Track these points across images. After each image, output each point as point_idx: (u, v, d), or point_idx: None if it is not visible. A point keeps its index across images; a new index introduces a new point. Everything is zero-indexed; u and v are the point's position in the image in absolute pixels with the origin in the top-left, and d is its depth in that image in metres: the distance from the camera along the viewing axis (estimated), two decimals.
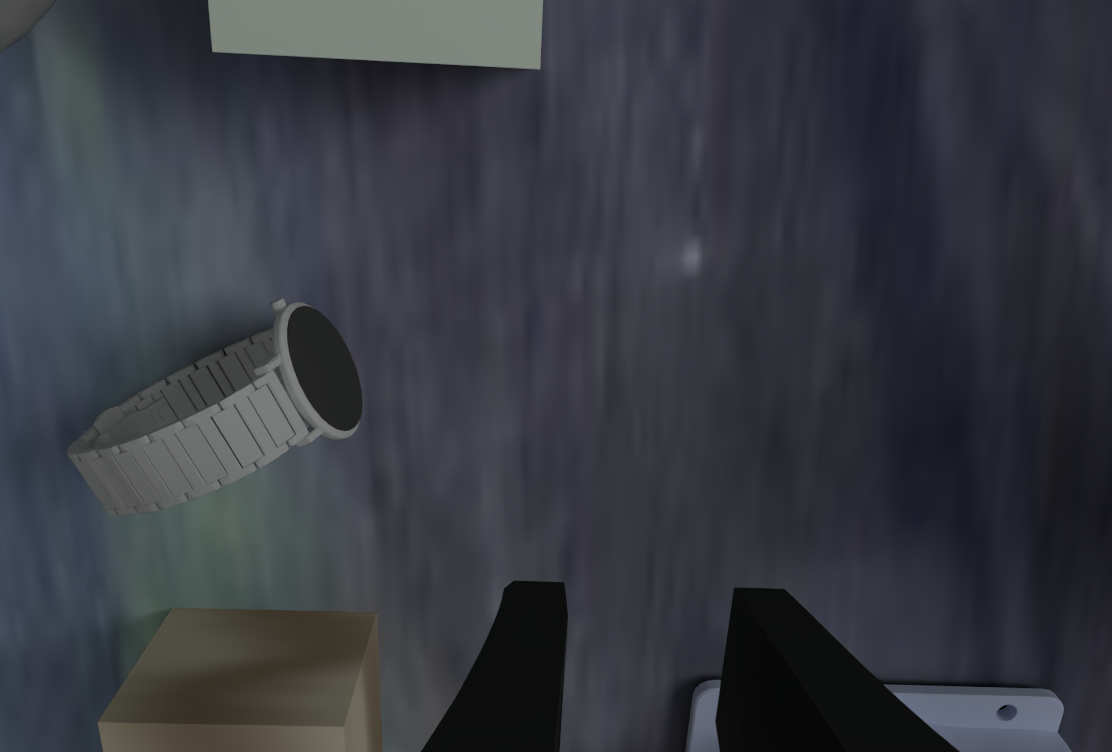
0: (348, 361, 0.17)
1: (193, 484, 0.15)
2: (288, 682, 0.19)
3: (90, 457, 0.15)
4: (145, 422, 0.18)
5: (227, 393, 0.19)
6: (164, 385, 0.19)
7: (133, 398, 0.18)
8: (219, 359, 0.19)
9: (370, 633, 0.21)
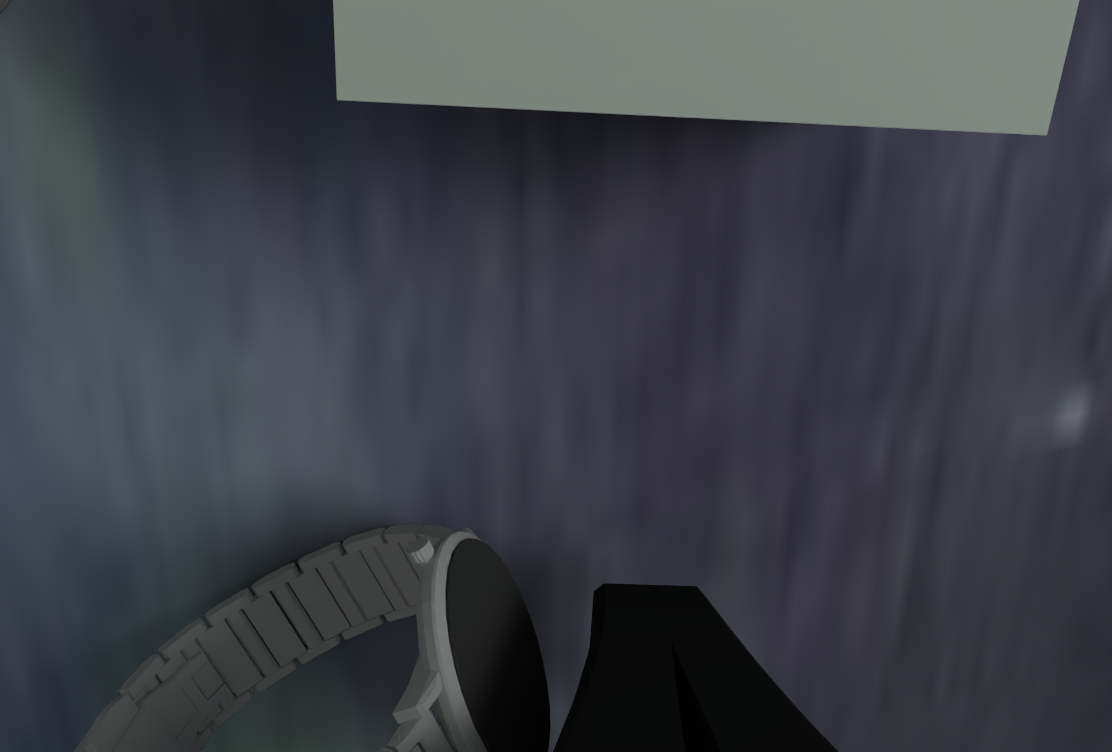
0: (522, 614, 0.10)
1: None
2: None
3: None
4: (172, 700, 0.11)
5: (303, 631, 0.12)
6: (203, 630, 0.11)
7: (152, 664, 0.11)
8: (291, 580, 0.12)
9: None
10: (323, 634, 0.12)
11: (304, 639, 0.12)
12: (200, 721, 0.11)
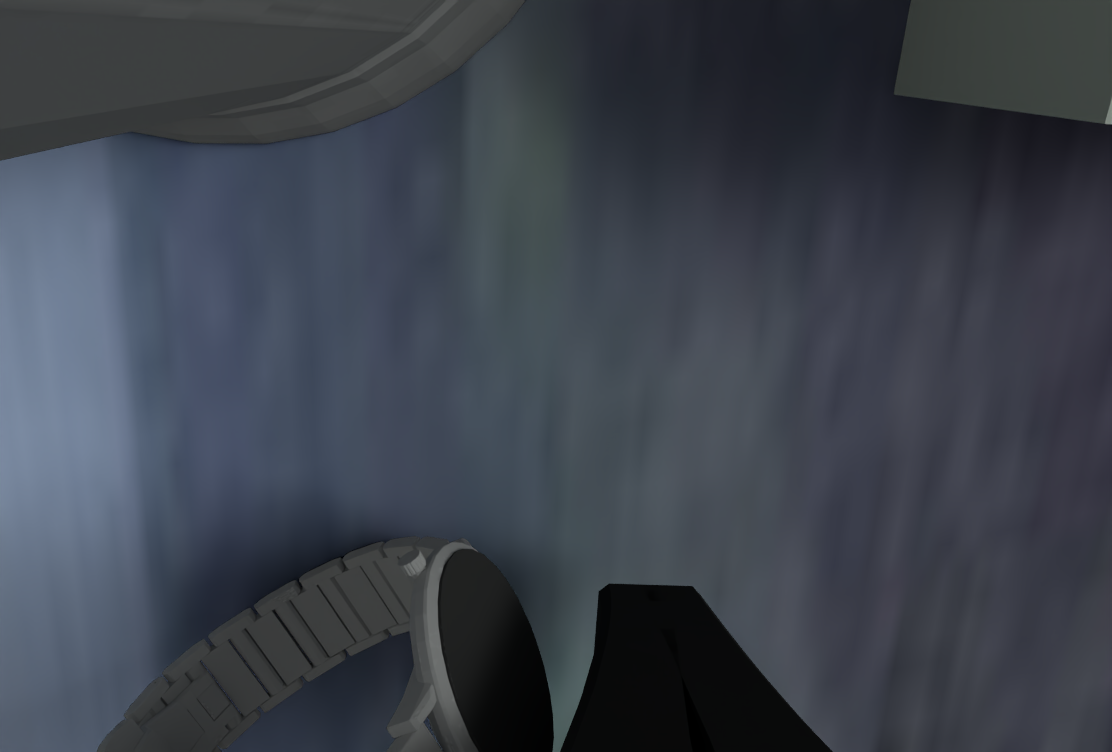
0: (521, 623, 0.10)
1: None
2: None
3: None
4: (178, 722, 0.11)
5: (307, 648, 0.12)
6: (207, 651, 0.11)
7: (157, 687, 0.11)
8: (293, 599, 0.12)
9: None
10: (328, 651, 0.12)
11: (309, 656, 0.12)
12: (207, 743, 0.11)
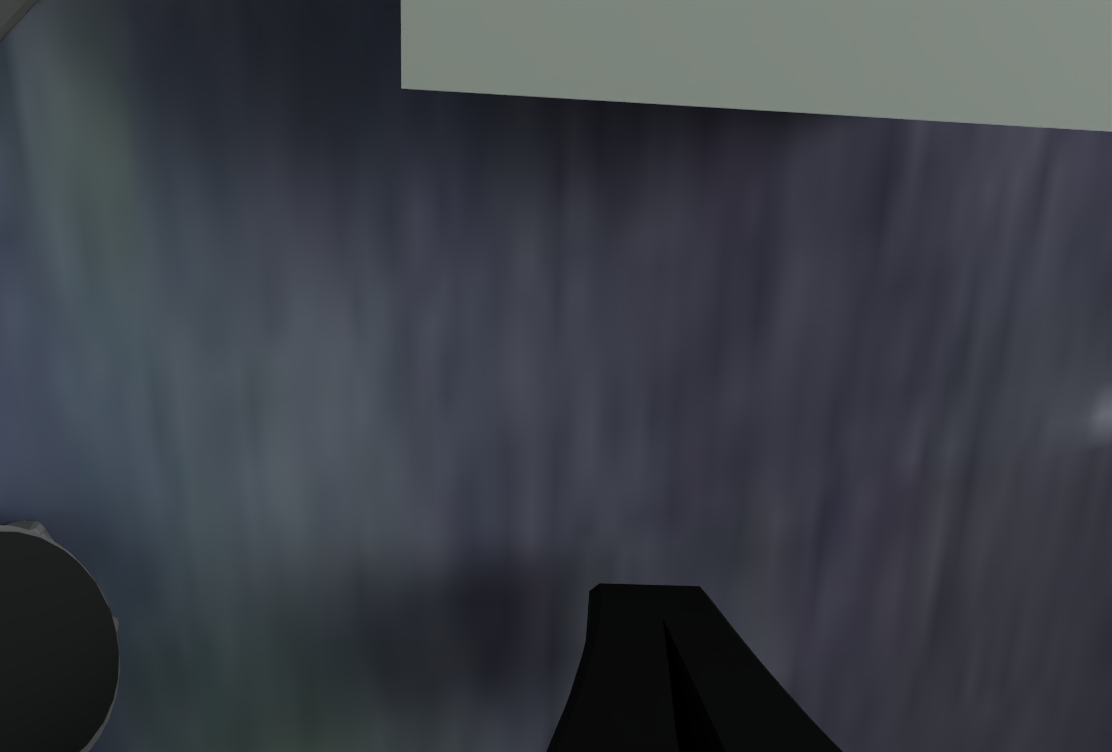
0: (91, 607, 0.10)
1: None
2: None
3: None
4: None
5: None
6: None
7: None
8: None
9: None
10: None
11: None
12: None
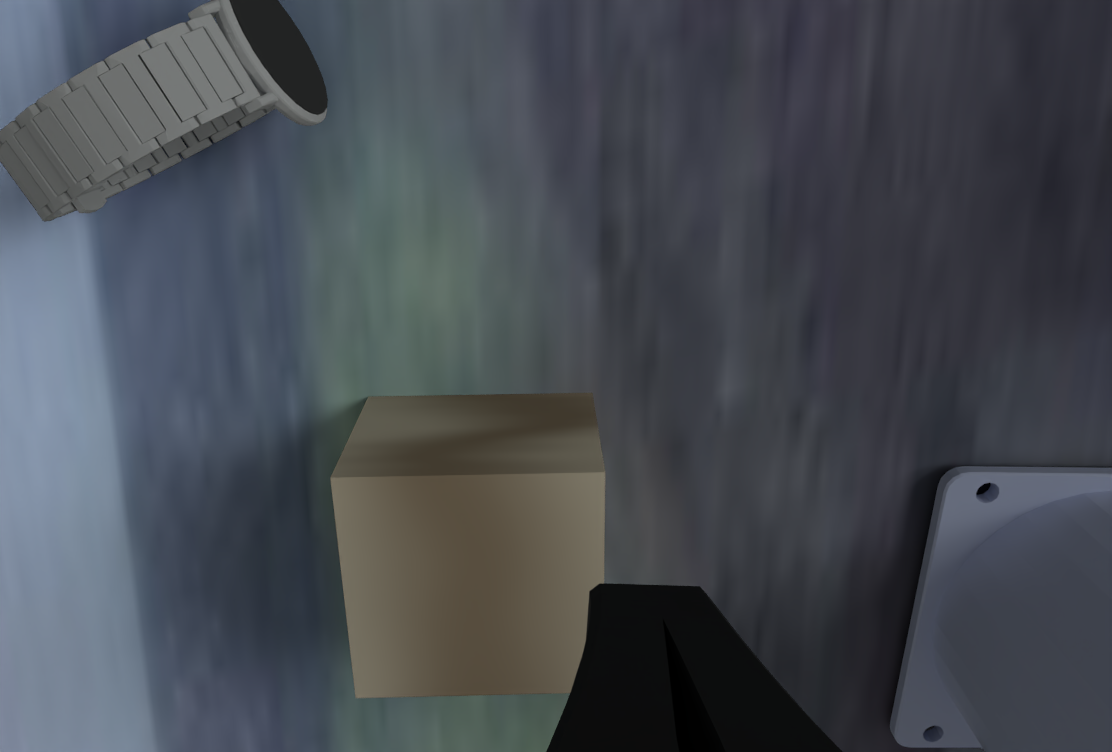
0: (308, 54, 0.15)
1: (126, 144, 0.13)
2: (525, 443, 0.17)
3: (10, 132, 0.13)
4: None
5: None
6: None
7: None
8: None
9: (593, 407, 0.19)
10: (197, 136, 0.17)
11: (184, 139, 0.17)
12: None
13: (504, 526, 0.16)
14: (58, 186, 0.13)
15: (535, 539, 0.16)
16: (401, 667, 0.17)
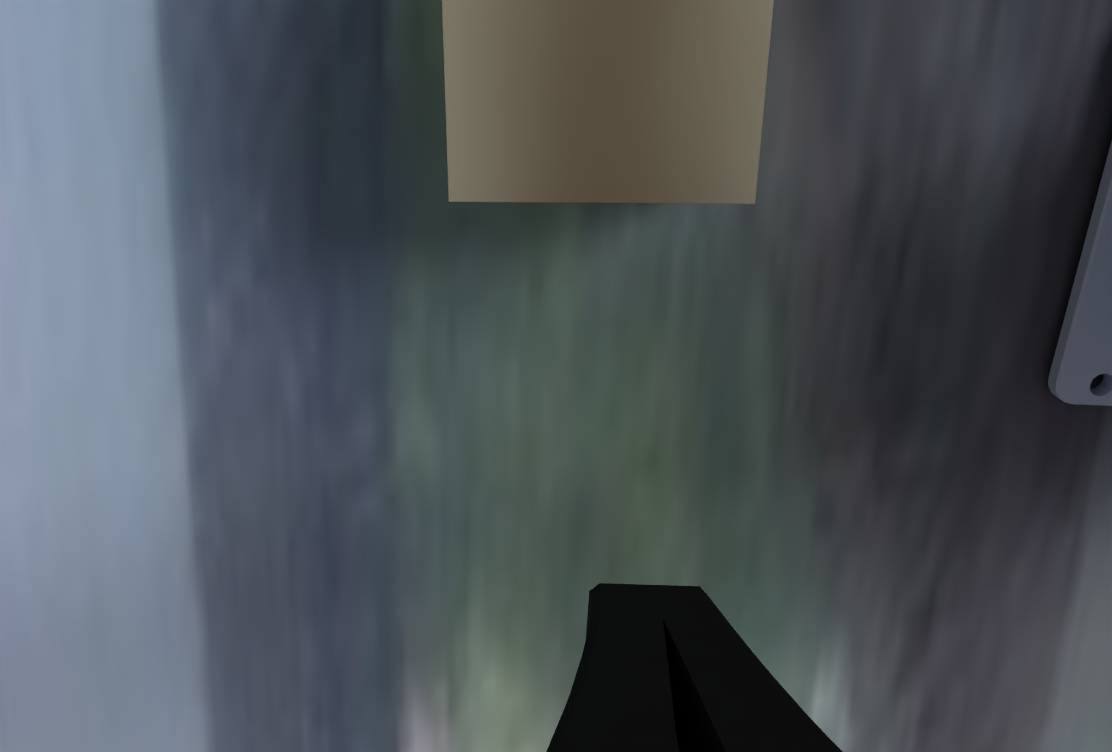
0: None
1: None
2: None
3: None
4: None
5: None
6: None
7: None
8: None
9: None
10: None
11: None
12: None
13: None
14: None
15: None
16: (508, 156, 0.14)
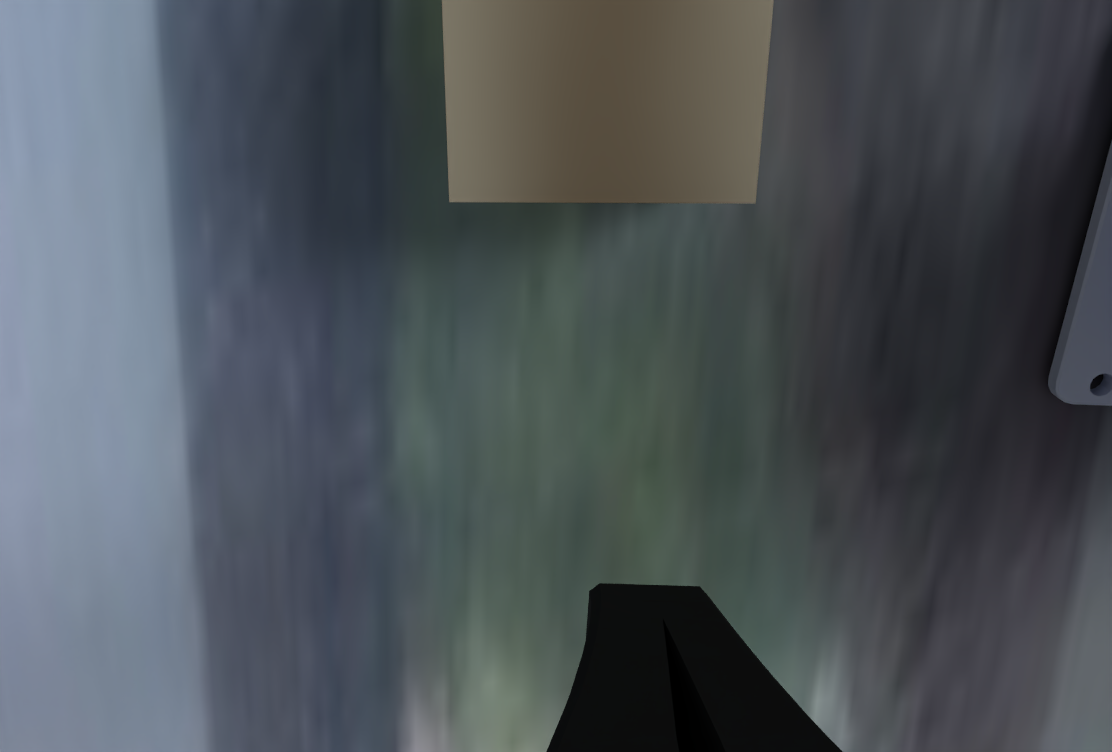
0: None
1: None
2: None
3: None
4: None
5: None
6: None
7: None
8: None
9: None
10: None
11: None
12: None
13: None
14: None
15: None
16: (508, 156, 0.14)
